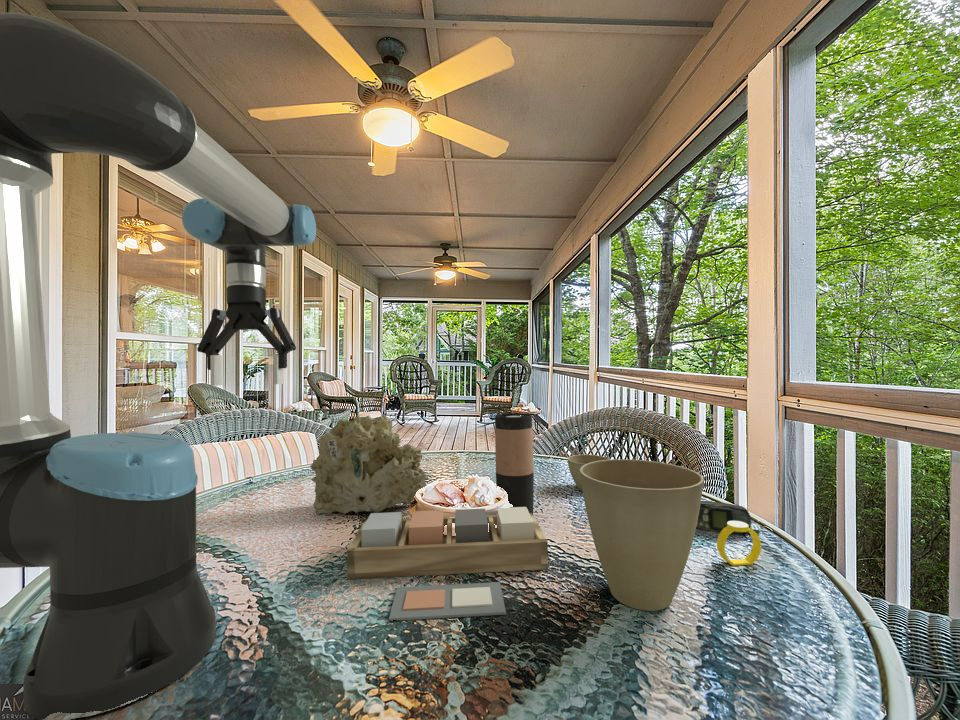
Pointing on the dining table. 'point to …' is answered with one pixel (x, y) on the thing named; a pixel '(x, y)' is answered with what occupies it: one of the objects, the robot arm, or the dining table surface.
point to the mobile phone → (721, 516)
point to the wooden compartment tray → (447, 555)
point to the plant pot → (642, 526)
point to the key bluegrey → (382, 529)
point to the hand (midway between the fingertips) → (247, 384)
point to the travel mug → (515, 458)
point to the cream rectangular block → (515, 524)
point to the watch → (739, 527)
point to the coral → (365, 468)
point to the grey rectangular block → (471, 526)
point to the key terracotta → (426, 527)
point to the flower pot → (578, 461)
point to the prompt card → (447, 601)
